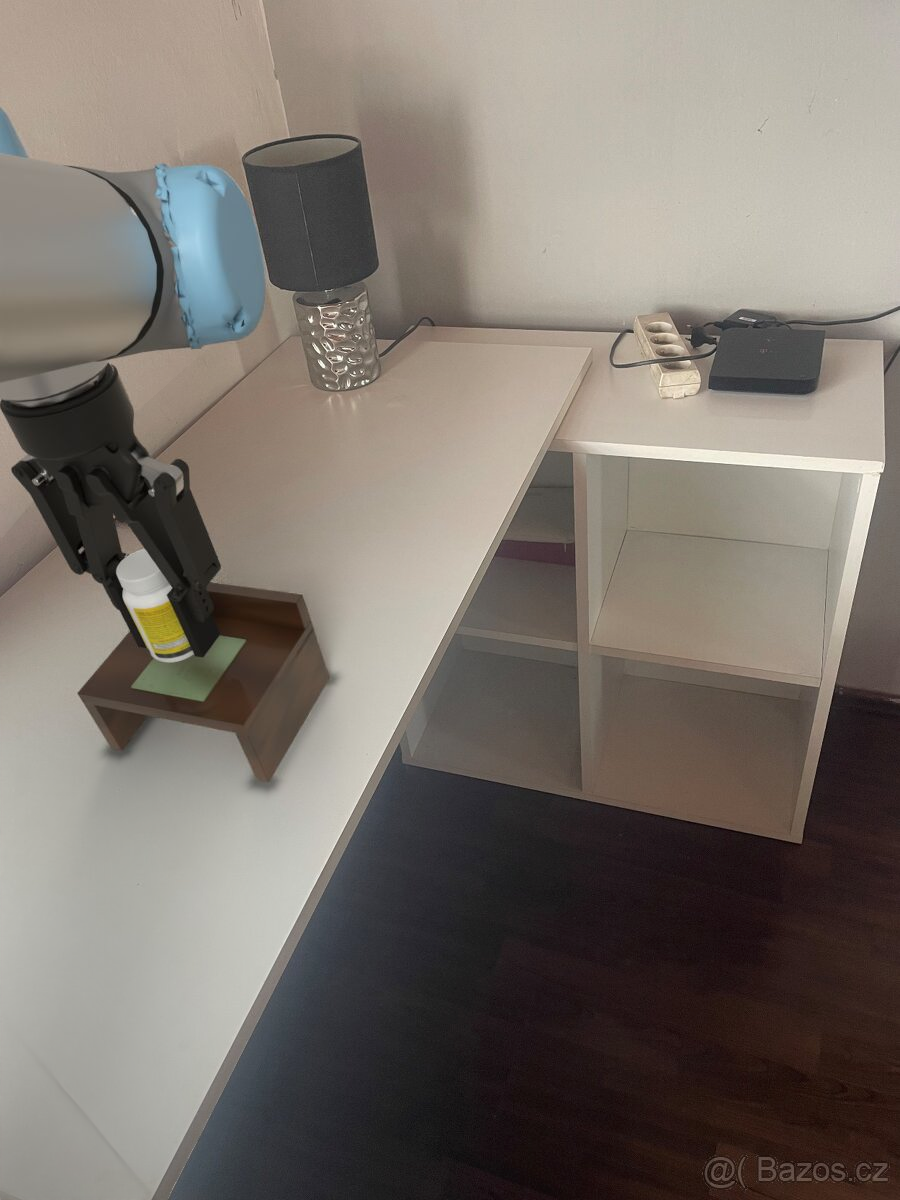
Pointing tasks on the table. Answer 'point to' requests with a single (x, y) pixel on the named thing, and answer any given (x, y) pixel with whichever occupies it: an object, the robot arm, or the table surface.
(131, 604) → the supplement bottle
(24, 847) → the table surface
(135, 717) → the shelf
